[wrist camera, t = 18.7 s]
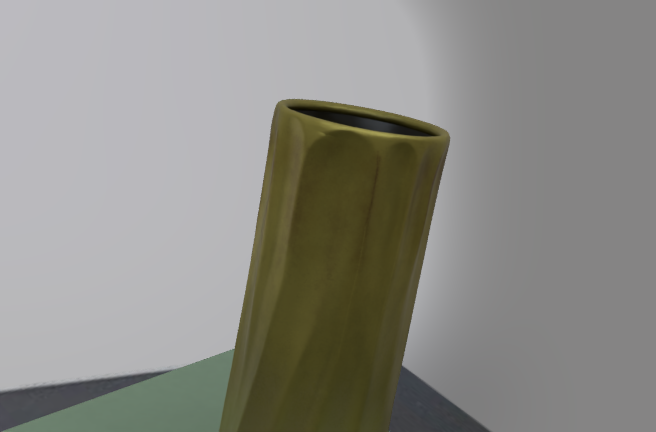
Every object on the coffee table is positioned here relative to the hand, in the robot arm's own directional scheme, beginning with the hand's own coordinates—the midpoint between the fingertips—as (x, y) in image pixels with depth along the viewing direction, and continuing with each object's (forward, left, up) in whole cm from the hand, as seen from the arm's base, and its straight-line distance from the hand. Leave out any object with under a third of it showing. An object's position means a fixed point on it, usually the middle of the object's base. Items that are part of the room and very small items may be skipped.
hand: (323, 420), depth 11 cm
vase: (+6, -6, -10) cm, 13 cm away
